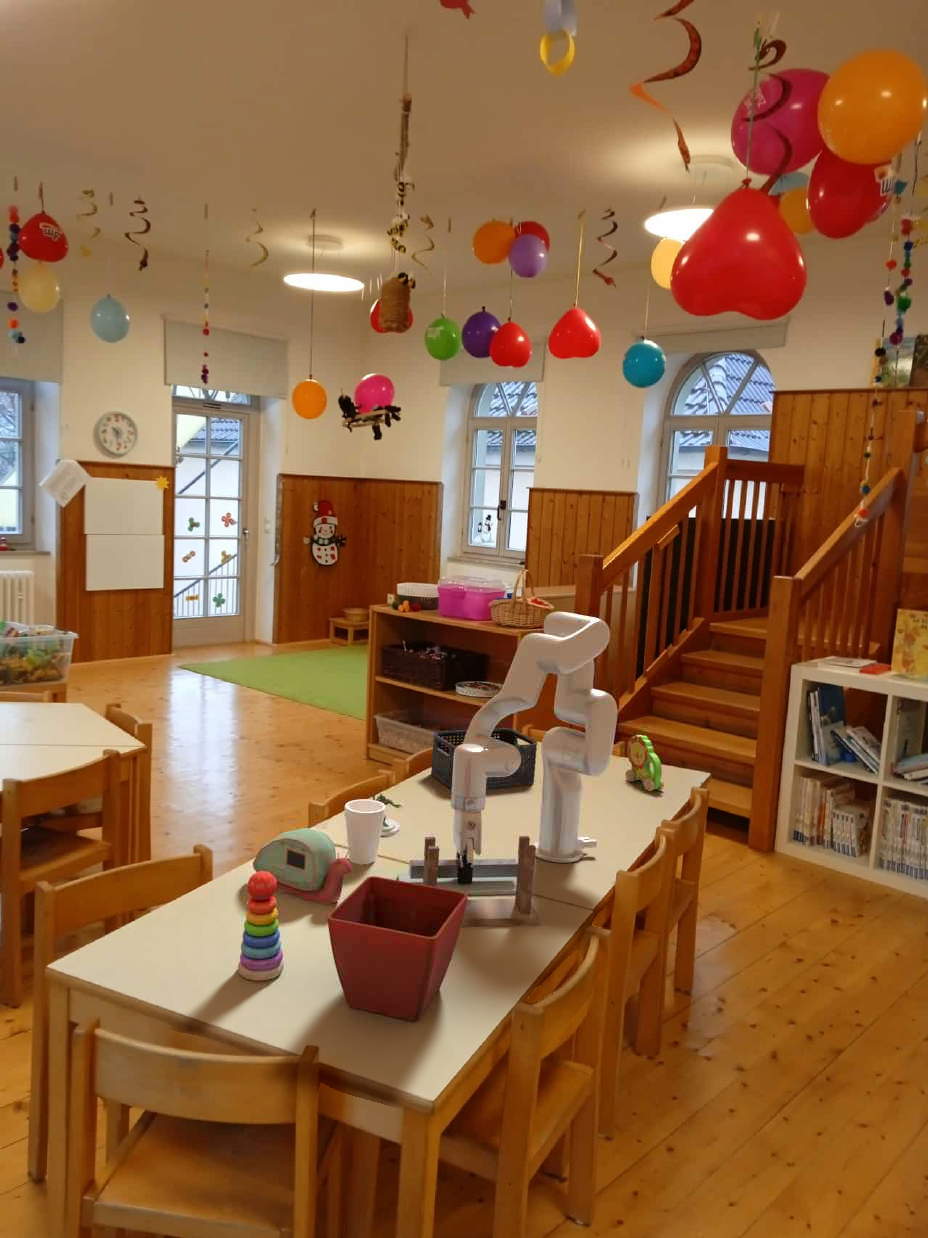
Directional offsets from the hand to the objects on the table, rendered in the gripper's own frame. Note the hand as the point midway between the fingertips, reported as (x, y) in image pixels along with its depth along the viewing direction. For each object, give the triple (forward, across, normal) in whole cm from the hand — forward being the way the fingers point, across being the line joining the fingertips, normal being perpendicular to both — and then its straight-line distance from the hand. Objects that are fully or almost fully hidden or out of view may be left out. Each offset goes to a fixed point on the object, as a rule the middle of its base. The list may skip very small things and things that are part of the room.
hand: (463, 879), depth 209 cm
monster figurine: (+2, +35, +16) cm, 39 cm away
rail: (-1, 0, 0) cm, 1 cm away
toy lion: (+2, +71, -70) cm, 100 cm away
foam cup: (+2, +15, +21) cm, 26 cm away
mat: (+1, 0, 0) cm, 1 cm away
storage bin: (+2, +76, -20) cm, 79 cm away
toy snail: (+2, -2, +35) cm, 35 cm away
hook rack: (+1, -15, 0) cm, 15 cm away
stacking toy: (+2, -35, +43) cm, 55 cm away
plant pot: (+2, -45, +20) cm, 49 cm away
